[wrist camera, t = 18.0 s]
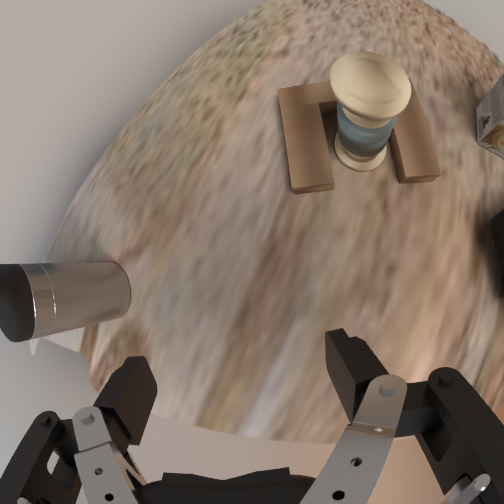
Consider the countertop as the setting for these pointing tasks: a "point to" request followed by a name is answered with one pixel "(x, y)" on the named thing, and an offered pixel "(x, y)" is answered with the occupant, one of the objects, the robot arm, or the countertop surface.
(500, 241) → the black white tapered cylinder
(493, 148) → the coffee box
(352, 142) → the cord spool
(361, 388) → the robot arm
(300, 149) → the notched board
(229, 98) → the countertop surface
